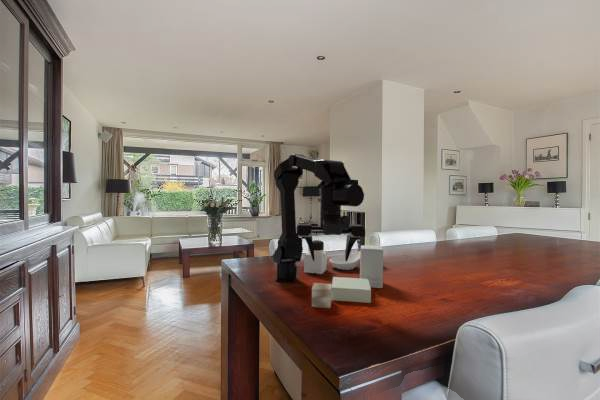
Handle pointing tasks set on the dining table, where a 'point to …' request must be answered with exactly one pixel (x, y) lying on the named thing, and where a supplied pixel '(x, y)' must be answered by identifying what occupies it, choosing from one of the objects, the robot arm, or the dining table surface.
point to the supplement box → (372, 265)
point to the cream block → (321, 295)
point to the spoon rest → (346, 265)
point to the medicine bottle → (316, 259)
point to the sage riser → (351, 289)
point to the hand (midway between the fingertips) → (329, 260)
